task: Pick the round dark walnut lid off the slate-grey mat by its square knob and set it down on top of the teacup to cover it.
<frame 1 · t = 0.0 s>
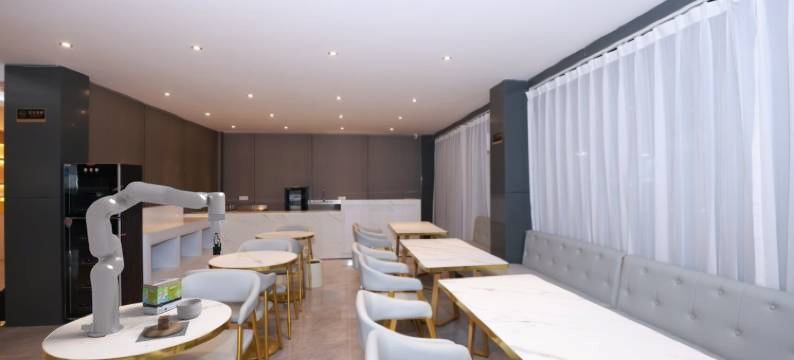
hand: (217, 253, 191), 31 cm above the table, tool pointing down, fingers open, 9 cm apart
teacup: (191, 317, 193), on the table
slate mat: (164, 332, 173), on the table
tea box: (162, 309, 204), on the table
walnut lid: (164, 331, 173), point 1 cm above the table, touching slate mat
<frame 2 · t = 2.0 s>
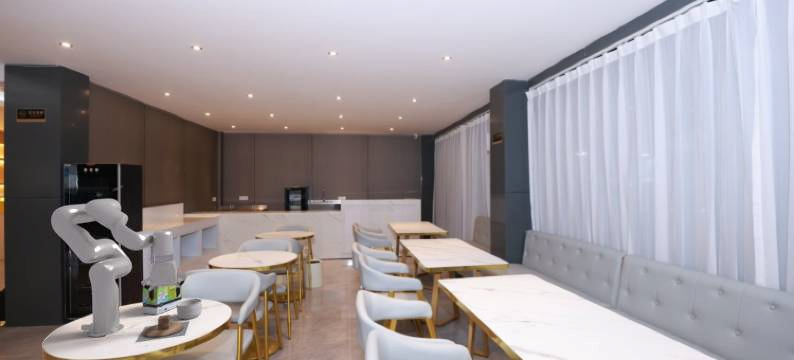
hand: (165, 297, 173), 15 cm above the table, tool pointing down, fingers open, 9 cm apart
nothing on the table moved.
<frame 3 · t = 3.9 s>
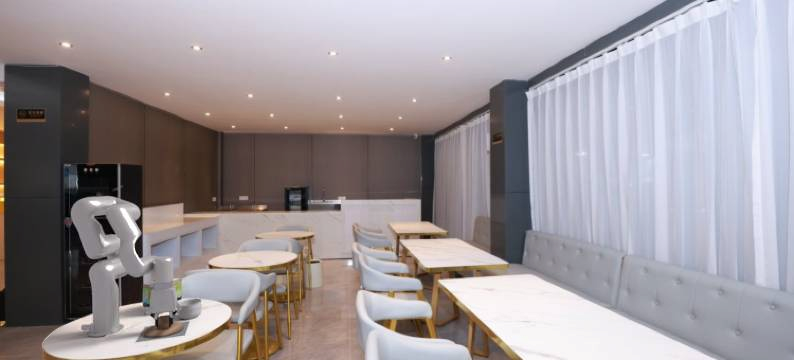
hand: (164, 326, 173), 3 cm above the table, tool pointing down, fingers closed on walnut lid, 4 cm apart
walnut lid: (164, 330, 173), point 1 cm above the table, touching gripper, slate mat
everything else where it was.
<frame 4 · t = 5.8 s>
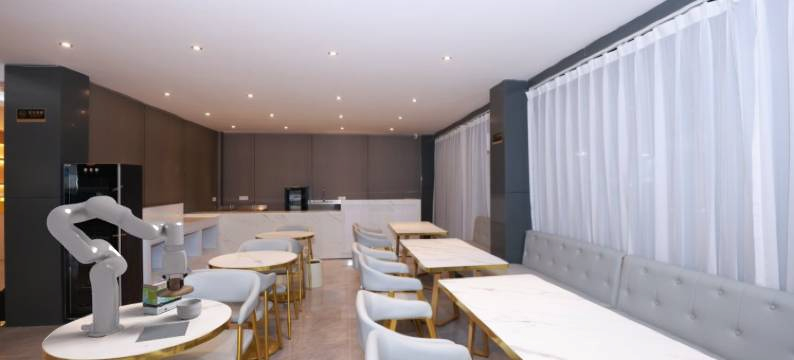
hand: (175, 288, 181), 17 cm above the table, tool pointing down, fingers closed on walnut lid, 4 cm apart
walnut lid: (175, 292, 180), point 15 cm above the table, touching gripper
everything else where it was.
when the fingers open (11 cm above the table, at t = 7.9 s): walnut lid drops 1 cm, resting on teacup.
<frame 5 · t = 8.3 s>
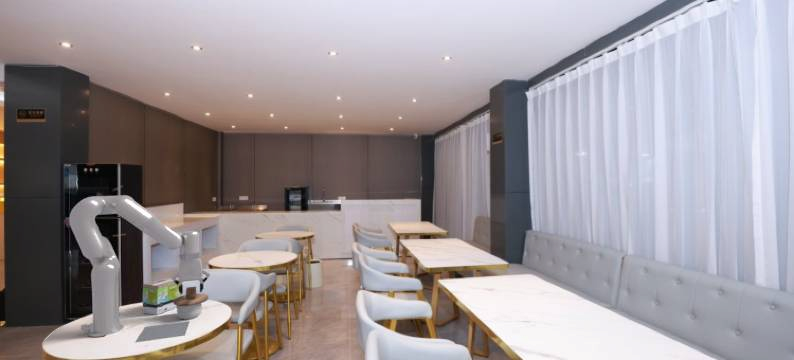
hand: (191, 292, 192), 12 cm above the table, tool pointing down, fingers open, 8 cm apart
teacup: (191, 317, 192), on the table, touching walnut lid
walnut lid: (191, 300, 192), point 8 cm above the table, touching teacup
everything else where it was.
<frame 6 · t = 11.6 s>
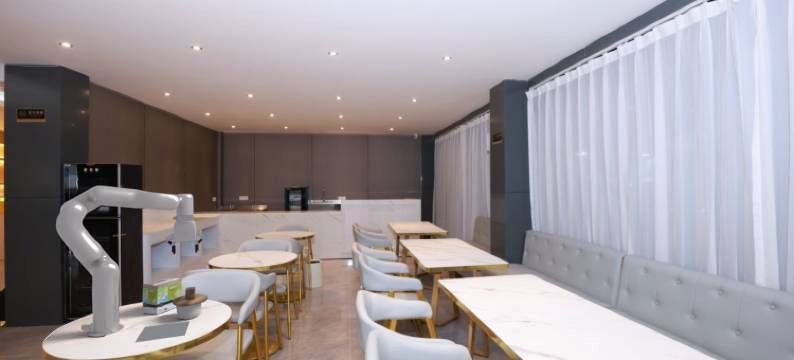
hand: (185, 253, 197), 30 cm above the table, tool pointing down, fingers open, 9 cm apart
nothing on the table moved.
at the end: walnut lid 0.4 cm from the teacup (horizontally); walnut lid point 7.9 cm above the table; walnut lid tilted 0° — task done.
